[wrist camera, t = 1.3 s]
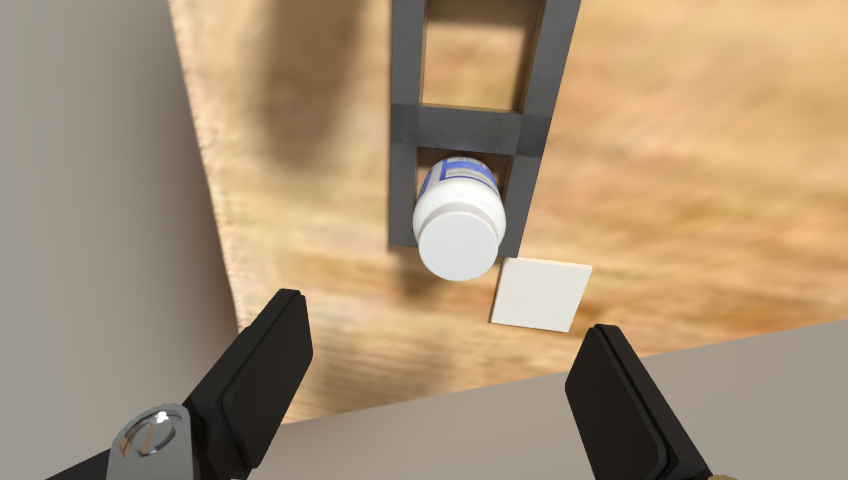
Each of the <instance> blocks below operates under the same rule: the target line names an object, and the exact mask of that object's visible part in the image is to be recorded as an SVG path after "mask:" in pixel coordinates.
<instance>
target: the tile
mask: <svg viewBox="0 0 848 480" xmlns="http://www.w3.org/2000/svg"><path fill="white" fill-rule="evenodd" d="M591 272H592V267H591V266H590V265H584V264H576V263H567V262H558V261H549V260H541V259H532V258H523V257H517V258H508V257H504V261H503V266H502V270H501V275H500V279H499V283H498V288H497V292H496V297H495V301H494V306H493V310H492V314H491V323H499V324H506V325H514V326H522V327H530V328H538V329H546V330H554V331H561V332H568V330H569V328H570V325H571V323H572V320H573V318H574V315H575V313H576V310H577V307H578V305H579V302H580V300H581V297H582V295H583V292H584V290H585V287H586V285H587V282H588V280H589V277H590V274H591Z"/></svg>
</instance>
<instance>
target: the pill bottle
mask: <svg viewBox="0 0 848 480" xmlns="http://www.w3.org/2000/svg"><path fill="white" fill-rule="evenodd" d="M412 224H413V232H414V235H415V238H416V241H417V243H418V248H419V254H420V257H421V259H422V261H423V263H424V265H425V266H426V267H427V268H428V269H429V270H430V271H431V272H432V273H434V274H435V275H437V276H439V277H441V278H443V279H446V280H450V281H467V280H471V279H475V278H477V277H479V276H481V275H482V274H484V273H485V272H486V271H488V270H489V269H490V267H491V266H492V265H493V263H494V261H495V259H496V256H497V253H498V247H499V245H500V243H501V241H502V239H503V237H504V234H505V229H506V218H505V212H504V208H503V205H502V201H501V198H500V195H499V192H498V189H497V186H496V183H495V179H494V177H493V174H492V172H491V171H490V169H489V168H488V167H487V165H486V164H485V163H484V162H482V161H481V160H479V159H478V158H476V157H473V156H470V155H465V154H457V155H451V156H448V157H446V158H443V159H442V160H440V161H439V162H437V163H436V164H435V165H434V166H433V167H432V168H431V169H430V171H429V172H428V174H427V176H426V178H425V181H424V184H423V187H422V190H421V193H420V195H419V198H418V201H417V204H416V207H415V210H414V214H413V221H412Z"/></svg>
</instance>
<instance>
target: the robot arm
mask: <svg viewBox="0 0 848 480" xmlns="http://www.w3.org/2000/svg"><path fill="white" fill-rule="evenodd" d="M312 357H313V348H312V341H311V334H310V327H309V320H308V313H307V306H306V299H305V296H304V295H301V293H300V291H299V290H292V289H283V288H282V289H280V290H279V291H278V292H277V293H276V294H275V295H274V297H273V298H272V299H271V300H270V301H269V303H268V304H267V305H266V306H265V308H264V309H263V310H262V311H261V313H260V314H259V315H258V316H257V318H256V319H255V320H254V321H253V323H252V324H251V325H250V326H248V327H246V328H245V329H244V330H243V331H242V332H241V333H240V334H239V335H238V337H237V338H236V339H235V340H234V342H233V343H232V344H231V345H230V346H229V348H228V349H227V350H226V351H225V352H224V354H223V355H222V356H221V357H220V359H219V360H218V361H217V362H216V363H215V365H214V366H213V367H212V368H211V369H210V371H209V372H208V373H207V374H206V376H205V377H204V378H203V379H202V380H201V382H200V383H199V384H198V385H197V387H196V388H195V389H194V390H193V391H192V393H191V394H190V395H189V396H188V397H187V399H186V400H185V401H184V402H183V404H182V405H179V404H163V405H160V406H157V407H154V408H151V409H149V410H147V411H145V412H143V413H141V414H140V415H138V416H137V417H136V418H134V419H133V420H131V421H130V422H129V423H128V424H127V425H126V426H125V427H124V428H123V429H122V430H121V431H120V432H119V434H118V436H117V437H116V438H115V439H114V441H113V444H112V447H111V448H110V449H108V450H106V451H104V452H101V453H99V454H97V455H95V456H93V457H91V458H89V459H87V460H85V461H83V462H81V463H79V464H77V465H75V466H73V467H70V468H68V469H66V470H64V471H62V472H60V473H58V474H56V475H54V476H52V477H50V478H48V479H46V480H231V479H238V480H247V478H248V476H249V474H250V472H251V470H252V468H253V469H255V468H257V467H258V466H259V465H260V463H261V462H262V460H263V458H264V456H265V454H266V452H267V450H268V447H269V445H270V444H271V441H272V440H273V437H274V435H275V434H276V432H277V430H278V427H279V425H280V423H281V421H282V419H283V417H284V415H285V413H286V411H287V409H288V407H289V405H290V403H291V401H292V399H293V397H294V395H295V393H296V391H297V389H298V387H299V385H300V383H301V381H302V379H303V377H304V375H305V373H306V371H307V369H308V367H309V365H310V363H311V361H312ZM565 392H566V395H567V398H568V401H569V404H570V407H571V410H572V413H573V416H574V418H575V421H576V424H577V427H578V430H579V433H580V436H581V439H582V442H583V444H584V448H585V450H586V453H587V456H588V459H589V462H590V465H591V467H592V471H593V474H594V476H595V479H596V480H737V479H735V478H732V477H728V476H725V475H714V476H713V474H712V473H711V471H710V470H709V468H708V466H707V464H706V463H705V461H704V459H703V458H702V456H701V455H700V453H699V452H698V450H697V449H696V447H695V446H694V444H693V442H692V441H691V439H690V438H689V436H688V434H687V433H686V431H685V430H684V428H683V427H682V425H681V423H680V422H679V420H678V419H677V417H676V416H675V414H674V413H673V411H672V409H671V408H670V406H669V405H668V403H667V402H666V400H665V399H664V397H663V395H662V394H661V392H660V391H659V389H658V388H657V386H656V384H655V383H654V381H653V380H652V378H651V377H650V375H649V374H648V372H647V371H646V369H645V367H644V366H643V364H642V363H641V361H640V360H639V358H638V356H637V355H636V353H635V352H634V350H633V349H632V347H631V345H630V344H629V342H628V341H627V339H626V338H625V336H624V335H623V333H622V331H621V330H620V329H619V327H617V326H615V325H606V324H596V325H594V327H593V328H589V329H588V331H587V333H586V336H585V338H584V340H583V343H582V345H581V347H580V350H579V352H578V354H577V357H576V359H575V361H574V364H573V366H572V368H571V370H570V373H569V375H568V377H567V380H566V383H565Z"/></svg>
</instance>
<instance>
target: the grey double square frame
mask: <svg viewBox="0 0 848 480" xmlns="http://www.w3.org/2000/svg"><path fill="white" fill-rule="evenodd" d="M428 2H429V0H393V39H392V99H391V159H390V219H389V244H394V245H403V246H412V247H418V243H417V241H416V238H415V235H414V232H413V224H412V221H413V214H414V210H415V207H416V200H417V184H418V167H419V151H420V146H421V147H432V148H442V149H453V150H464V151H474V152H485V153H496V154H506V155H509V160H508V165H507V170H506V175H505V180H504V185H503V190H502V195H501V201H502V205H503V208H504V212H505V218H506V229H505V234H504V237H503V239H502V241H501V243H500V245H499V247H498V253H497V256H499V257H508V258H517V256H518V252H519V248H520V244H521V240H522V236H523V232H524V228H525V224H526V220H527V216H528V212H529V208H530V204H531V200H532V196H533V192H534V188H535V184H536V180H537V176H538V172H539V168H540V164H541V160H542V156H543V152H544V148H545V144H546V140H547V136H548V132H549V128H550V124H551V120H552V116H553V112H554V108H555V104H556V100H557V96H558V92H559V88H560V84H561V80H562V76H563V72H564V68H565V64H566V60H567V56H568V52H569V48H570V43H571V39H572V35H573V31H574V27H575V23H576V19H577V15H578V11H579V7H580V3H581V0H540V4H539V9H538V14H537V19H536V24H535V29H534V34H533V39H532V44H531V49H530V54H529V59H528V64H527V69H526V74H525V79H524V84H523V90H522V95H521V100H520V105H519V110H518V111H513V110H501V109H489V108H477V107H466V106H454V105H442V104H430V103H422V101H423V85H424V68H425V52H426V35H427V19H428Z"/></svg>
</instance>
